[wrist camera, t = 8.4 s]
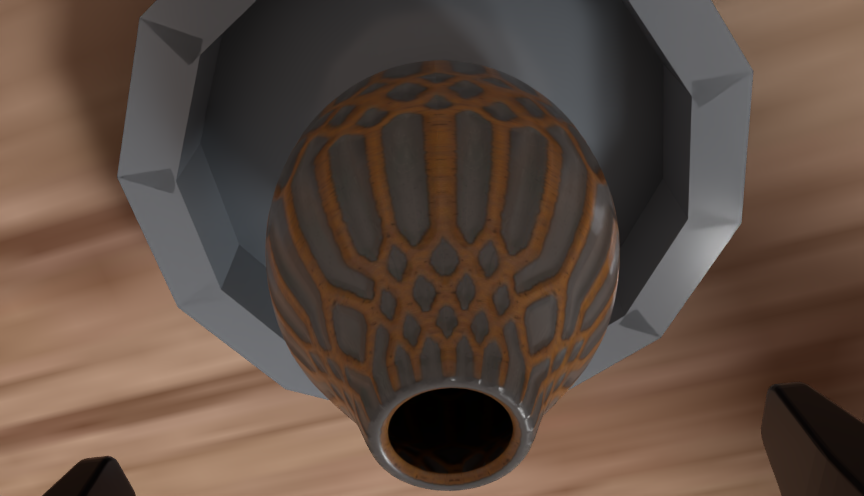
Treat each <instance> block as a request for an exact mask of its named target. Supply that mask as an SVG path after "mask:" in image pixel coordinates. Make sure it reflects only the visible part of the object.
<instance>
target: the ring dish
mask: <svg viewBox="0 0 864 496" xmlns="http://www.w3.org/2000/svg"><path fill="white" fill-rule="evenodd" d="M432 60H449V61H460V62H468V63H473V64H478V65H482V66H486V67H489V68H493V69H496V70H498V71H501V72H504V73H506V74H508V75H511V76H513V77H515V78H517V79H519V80H521V81H522V82H524V83H526V84H528V85H529V86H531V87H532V88H533V89H535V90H536V91H538V92H539V93H541V94H542V95H544V96H545V97H546V98H548V99H549V100H550V101H551V102H553V103H554V104H555V105H556V106H557V107H558V108H559V109H560V110H561V111H562V112H563V113H564V114H565V115H566V116H567V117H568V119H569V120H570V121H571V122H572V123H573V125H574V126H575V127H576V129H577V130H578V131H579V133H580V134H581V135H582V137H583V138H584V140H585V141H586V143H587V144H588V146H589V148H590V149H591V151H592V153H593V154H594V156H595V158H596V160H597V162H598V164H599V166H600V168H601V170H602V172H603V174H604V177H605V179H606V182H607V185H608V187H609V190H610V193H611V196H612V199H613V203H614V207H615V212H616V218H617V224H618V230H619V244H620V263H619V277H618V285H617V292H616V297H615V302H614V307H613V311H612V315H611V318H610V321H609V324H608V327H607V329H606V332H605V335H604V337H603V339H602V342H601V344H600V345H599V347H598V349H597V351H596V353H595V354H594V356H593V358H592V360H591V361H590V363H589V364H588V366H587V367H586V369H585V370H584V371H583V373H582V374H581V375H580V377H579V378H578V379H577V380H576V381H575V383H574V384H573V385H572V386H571V387H570V388H569V389H571V388H573V387H575V386H576V385H578V384H580V383H582V382H583V381H585V380H587V379H589V378H591V377H592V376H594V375H596V374H598V373H599V372H601V371H603V370H605V369H606V368H608V367H610V366H612V365H613V364H615V363H617V362H619V361H620V360H622V359H624V358H626V357H627V356H629V355H631V354H633V353H635V352H636V351H638V350H640V349H642V348H643V347H645V346H647V345H649V344H650V343H652V342H654V341H656V340H657V339H659V338H661V337H662V335H663V334H664V332H665V331H666V329H667V328H668V327H669V325H670V324H671V322H672V321H673V320H674V318H675V317H676V315H677V314H678V312H679V311H680V310H681V308H682V307H683V305H684V304H685V302H686V301H687V300H688V298H689V297H690V295H691V294H692V293H693V291H694V290H695V288H696V287H697V285H698V284H699V283H700V281H701V280H702V278H703V277H704V275H705V274H706V273H707V271H708V270H709V268H710V267H711V266H712V264H713V263H714V261H715V260H716V258H717V257H718V256H719V254H720V253H721V251H722V250H723V248H724V247H725V246H726V244H727V243H728V241H729V240H730V239H731V237H732V236H733V234H734V233H735V231H736V230H737V229H738V227H739V226H740V224H741V222H742V209H743V197H744V184H745V171H746V159H747V146H748V133H749V120H750V108H751V95H752V82H753V70H752V68H751V66H750V65H749V63H748V61H747V60H746V58H745V56H744V55H743V53H742V51H741V50H740V48H739V46H738V45H737V43H736V41H735V40H734V38H733V36H732V35H731V33H730V31H729V30H728V28H727V26H726V25H725V23H724V21H723V19H722V18H721V16H720V14H719V13H718V11H717V9H716V8H715V6H714V4H713V3H712V1H711V0H156V1H155V2H154V3H153V4H152V5H151V6H150V7H149V9H148V10H147V11H146V12H145V13H144V14H143V15H142V16H141V17H140V19H139V26H138V33H137V40H136V47H135V54H134V61H133V68H132V75H131V82H130V89H129V97H128V104H127V111H126V118H125V125H124V132H123V139H122V146H121V153H120V160H119V167H118V175H117V178H118V180H119V182H120V184H121V186H122V189H123V191H124V193H125V195H126V197H127V199H128V201H129V204H130V206H131V208H132V210H133V212H134V214H135V216H136V219H137V221H138V223H139V225H140V227H141V229H142V231H143V234H144V236H145V238H146V240H147V242H148V244H149V246H150V249H151V251H152V253H153V255H154V257H155V259H156V261H157V264H158V266H159V268H160V270H161V272H162V274H163V276H164V279H165V281H166V283H167V285H168V287H169V289H170V291H171V294H172V296H173V298H174V300H175V302H176V304H177V306H178V308H180V309H181V310H182V311H184V312H185V313H186V314H187V315H189V316H190V317H191V318H193V319H194V320H195V321H197V322H198V323H199V324H201V325H202V326H203V327H205V328H206V329H207V330H208V331H210V332H211V333H212V334H214V335H215V336H216V337H218V338H219V339H220V340H222V341H223V342H224V343H226V344H227V345H228V346H229V347H231V348H232V349H233V350H235V351H236V352H237V353H239V354H240V355H241V356H243V357H244V358H245V359H247V360H248V361H249V362H250V363H252V364H253V365H254V366H256V367H257V368H258V369H260V370H261V371H262V372H264V373H265V374H266V375H268V376H269V377H270V378H272V379H273V380H274V381H275V382H277V383H278V384H279V385H281V386H282V387H283V388H285V389H287V390H291V391H295V392H299V393H303V394H307V395H311V396H315V397H319V398H323V399H327V400H329V399H328V398H327V397H326V396H325V395H324V394H323V393H322V392H321V391H320V390H319V389H318V388H317V387H316V386H315V385H314V384H313V383H312V382H311V381H310V380H309V378H308V377H307V376H306V374H305V373H304V372H303V370H302V369H301V368H300V366H299V365H298V363H297V362H296V360H295V359H294V357H293V356H292V354H291V352H290V350H289V348H288V346H287V344H286V342H285V340H284V338H283V335H282V333H281V331H280V328H279V326H278V322H277V319H276V316H275V312H274V309H273V306H272V302H271V297H270V292H269V286H268V280H267V271H266V258H265V244H266V231H267V221H268V215H269V210H270V206H271V203H272V199H273V196H274V192H275V188H276V185H277V183H278V180H279V178H280V175H281V173H282V171H283V168H284V166H285V164H286V162H287V160H288V158H289V156H290V154H291V152H292V150H293V149H294V147H295V145H296V144H297V142H298V140H299V139H300V137H301V136H302V134H303V132H304V131H305V130H306V128H307V127H308V126H309V124H310V123H311V122H312V121H313V120H314V119H315V117H316V116H317V115H318V114H319V113H320V112H321V111H322V110H323V109H324V108H325V107H326V106H327V105H328V104H330V103H331V102H332V101H333V100H334V99H336V98H337V97H338V96H339V95H341V94H342V93H343V92H345V91H346V90H347V89H349V88H350V87H352V86H353V85H355V84H357V83H359V82H360V81H362V80H364V79H366V78H368V77H370V76H372V75H374V74H377V73H379V72H382V71H384V70H387V69H390V68H394V67H397V66H401V65H404V64H410V63H415V62H421V61H432ZM569 389H568V390H569Z"/></svg>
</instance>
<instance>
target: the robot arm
mask: <svg viewBox="0 0 864 496" xmlns="http://www.w3.org/2000/svg"><path fill="white" fill-rule="evenodd" d="M761 434H762V440H763V444H764V447H765V450H766V453H767V455H768V458H769V461H770V464H771V467H772V469H773V472H774V475H775V478H776V480H777V483H778V486H779V489H780V492H781V494H782V496H864V423H863V422H862V421H860V420H859V419H857V418H856V417H854V416H853V415H851V414H850V413H849V412H847V411H846V410H844V409H843V408H841V407H840V406H838V405H837V404H835V403H834V402H832V401H831V400H829V399H828V398H826V397H825V396H824V395H822V394H821V393H819V392H818V391H816V390H815V389H813V388H812V387H810V386H809V385H807V384H805V383H802V382H791V383H781V384H774V385H772V386H771V387H770V388H769V389H768V392H767V396H766V402H765V408H764V414H763V419H762V425H761ZM42 496H136V495H135V492H134V490H133V488H132V486H131V484H130V483H129V481H128V479H127V477H126V476H125V474H124V472H123V470H122V469H121V467H120V465H119V463H118V462H117V460H116V459H114V458H113V457H111V456H103V457H94V458H86V459H83V460H81V461H80V462H78V463H77V464H76V465H75V466H74V467H73V468H72V469H70V470H69V471H68V472H67V473H66V474H65V475H64V476H63V477H62V478H61V479H60V480H59V481H57V482H56V483H55V484H54V485H53V486H52V487H51V488H50V489H49V490H48V491H47V492H46V493H44V494H43V495H42Z"/></svg>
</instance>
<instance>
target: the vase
mask: <svg viewBox="0 0 864 496" xmlns="http://www.w3.org/2000/svg"><path fill="white" fill-rule="evenodd" d="M265 258H266V271H267V280H268V286H269V292H270V297H271V302H272V306H273V309H274V312H275V316H276V319H277V322H278V326H279V328H280V331H281V333H282V335H283V338H284V340H285V342H286V344H287V346H288V348H289V350H290V352H291V354H292V356H293V357H294V359H295V360H296V362H297V363H298V365H299V366H300V368H301V369H302V370H303V372H304V373H305V374H306V376H307V377H308V378H309V380H310V381H311V382H312V383H313V384H314V385H315V386H316V387H317V388H318V389H319V390H320V391H321V392H322V393H323V394H324V395H325V396H326V397H327V398H328V399H329V400H330V401H331V402H332V403H333V404H334V405H335V406H337V407H338V408H339V409H340V410H341V411H342V412H343V413H344V414H346V415H347V416H348V417H349V418H350V419H352V420H353V421H354V422H355V423H356V424H357V425H358V427H359V429H360V431H361V433H362V435H363V437H364V439H365V442H366V444H367V446H368V448H369V450H370V452H371V453H372V455H373V457H374V458H375V459H376V461H377V462H378V463H379V464H380V465H381V466H382V467H383V468H384V469H385V470H386V471H387V472H388V473H390V474H391V475H393V476H394V477H396V478H398V479H399V480H401V481H403V482H406V483H408V484H411V485H414V486H417V487H421V488H425V489H431V490H441V491H456V490H465V489H471V488H476V487H480V486H483V485H486V484H489V483H491V482H493V481H496V480H498V479H500V478H501V477H503V476H505V475H506V474H508V473H509V472H511V471H512V470H513V469H514V468H516V467H517V466H518V465H519V464H520V462H521V461H522V460H523V459H524V458H525V456H526V455H527V453H528V452H529V450H530V448H531V446H532V444H533V441H534V439H535V436H536V433H537V430H538V427H539V425H540V422H541V419H542V417H543V415H544V414H545V413H546V412H547V411H548V410H549V409H551V408H552V406H553V405H554V404H555V403H556V402H557V401H558V400H559V399H560V398H561V397H562V396H563V395H564V394H565V393H566V392H567V391H568V389H569V388H570V387H571V386H572V385H573V384H574V383H575V381H576V380H577V379H578V378H579V377H580V375H581V374H582V373H583V371H584V370H585V369H586V367H587V366H588V364H589V363H590V361H591V360H592V358H593V356H594V354H595V353H596V351H597V349H598V347H599V345H600V344H601V342H602V339H603V337H604V335H605V332H606V329H607V327H608V324H609V321H610V318H611V315H612V311H613V307H614V302H615V297H616V292H617V285H618V277H619V263H620V244H619V230H618V224H617V218H616V212H615V207H614V203H613V199H612V196H611V193H610V190H609V187H608V185H607V182H606V179H605V177H604V174H603V172H602V170H601V168H600V166H599V164H598V162H597V160H596V158H595V156H594V154H593V153H592V151H591V149H590V148H589V146H588V144H587V143H586V141H585V140H584V138H583V137H582V135H581V134H580V133H579V131H578V130H577V129H576V127H575V126H574V125H573V123H572V122H571V121H570V120H569V119H568V117H567V116H566V115H565V114H564V113H563V112H562V111H561V110H560V109H559V108H558V107H557V106H556V105H555V104H554V103H553V102H551V101H550V100H549V99H548V98H546V97H545V96H544V95H542V94H541V93H539V92H538V91H536V90H535V89H533V88H532V87H531V86H529V85H528V84H526V83H524V82H522V81H521V80H519V79H517V78H515V77H513V76H511V75H508V74H506V73H504V72H501V71H498V70H496V69H493V68H489V67H486V66H482V65H478V64H473V63H468V62H460V61H449V60H432V61H421V62H415V63H410V64H404V65H401V66H397V67H394V68H390V69H387V70H384V71H382V72H379V73H377V74H374V75H372V76H370V77H368V78H366V79H364V80H362V81H360V82H359V83H357V84H355V85H353V86H352V87H350V88H349V89H347V90H346V91H345V92H343V93H342V94H341V95H339V96H338V97H337V98H336V99H334V100H333V101H332V102H331V103H330V104H328V105H327V106H326V107H325V108H324V109H323V110H322V111H321V112H320V113H319V114H318V115H317V116H316V117H315V119H314V120H313V121H312V122H311V123H310V124H309V126H308V127H307V128H306V130H305V131H304V132H303V134H302V136H301V137H300V139H299V140H298V142H297V144H296V145H295V147H294V149H293V150H292V152H291V154H290V156H289V158H288V160H287V162H286V164H285V166H284V168H283V171H282V173H281V175H280V178H279V180H278V183H277V185H276V188H275V192H274V196H273V199H272V203H271V206H270V210H269V215H268V221H267V231H266V244H265Z"/></svg>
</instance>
